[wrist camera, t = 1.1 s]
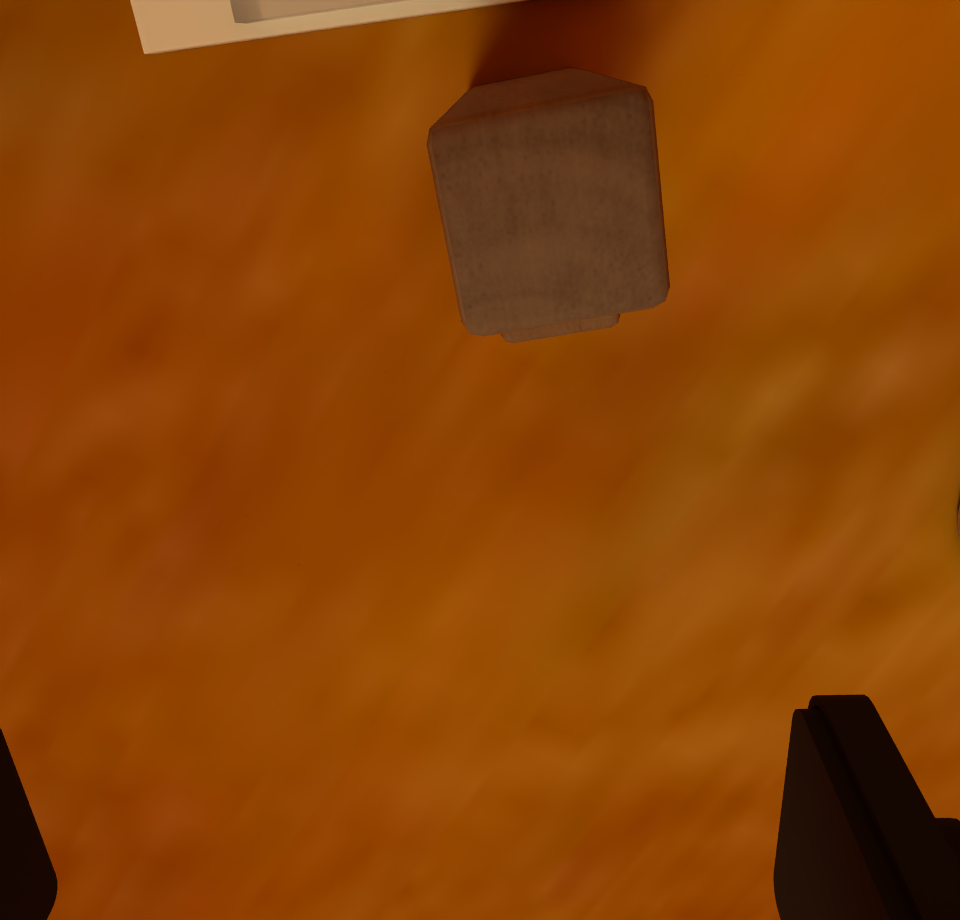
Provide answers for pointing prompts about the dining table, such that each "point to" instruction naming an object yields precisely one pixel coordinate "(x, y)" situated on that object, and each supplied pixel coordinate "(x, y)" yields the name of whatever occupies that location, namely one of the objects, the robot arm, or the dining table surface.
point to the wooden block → (551, 203)
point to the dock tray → (269, 18)
